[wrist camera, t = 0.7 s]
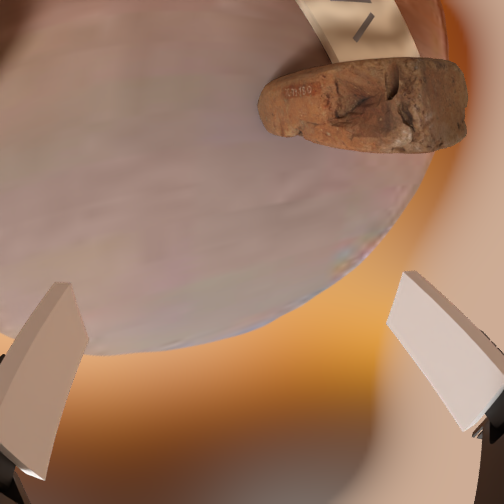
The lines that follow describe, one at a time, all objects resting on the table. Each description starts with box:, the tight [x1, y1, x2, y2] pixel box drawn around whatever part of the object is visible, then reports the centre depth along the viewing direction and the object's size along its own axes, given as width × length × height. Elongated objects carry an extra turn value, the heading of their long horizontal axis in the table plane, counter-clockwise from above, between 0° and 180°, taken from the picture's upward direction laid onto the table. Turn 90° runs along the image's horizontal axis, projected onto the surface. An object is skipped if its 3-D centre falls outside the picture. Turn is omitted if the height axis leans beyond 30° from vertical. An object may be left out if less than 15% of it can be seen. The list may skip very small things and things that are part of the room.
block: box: [257, 57, 468, 154], centre depth 22 cm, size 11×8×20 cm
